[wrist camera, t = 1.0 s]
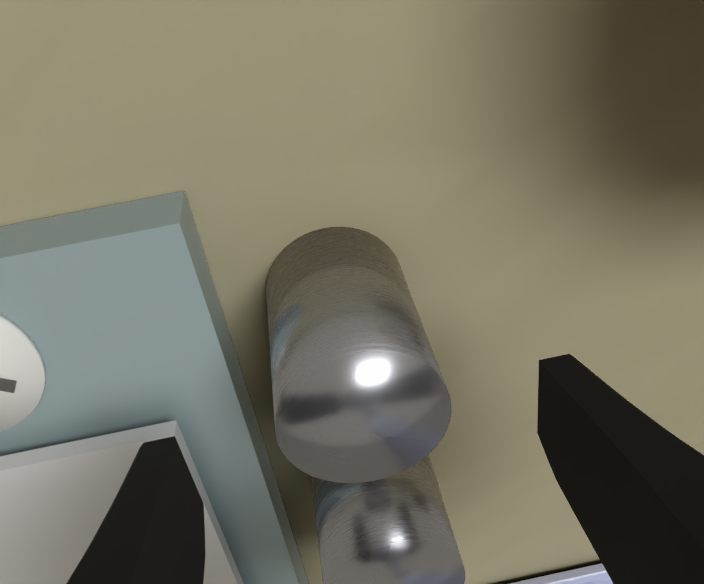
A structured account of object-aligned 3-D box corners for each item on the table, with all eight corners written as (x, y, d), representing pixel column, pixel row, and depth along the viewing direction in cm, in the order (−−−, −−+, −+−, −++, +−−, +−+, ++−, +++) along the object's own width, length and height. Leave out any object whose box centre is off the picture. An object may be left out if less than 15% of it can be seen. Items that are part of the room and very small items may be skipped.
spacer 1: (408, 327, 19) (455, 463, 15) (281, 353, 19) (294, 498, 15) (394, 214, 17) (445, 336, 13) (252, 242, 17) (256, 374, 13)
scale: (326, 639, 27) (333, 707, 25) (26, 705, 27) (8, 780, 24) (184, 190, 16) (176, 246, 13) (-343, 293, 15) (-438, 367, 13)
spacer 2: (425, 469, 22) (468, 612, 18) (318, 492, 22) (337, 640, 18) (415, 389, 20) (461, 530, 16) (297, 414, 20) (313, 562, 16)
